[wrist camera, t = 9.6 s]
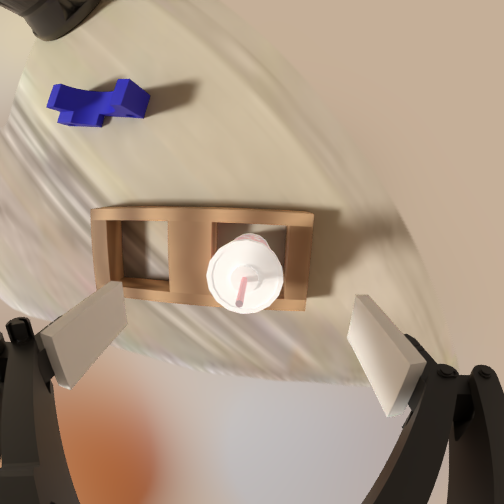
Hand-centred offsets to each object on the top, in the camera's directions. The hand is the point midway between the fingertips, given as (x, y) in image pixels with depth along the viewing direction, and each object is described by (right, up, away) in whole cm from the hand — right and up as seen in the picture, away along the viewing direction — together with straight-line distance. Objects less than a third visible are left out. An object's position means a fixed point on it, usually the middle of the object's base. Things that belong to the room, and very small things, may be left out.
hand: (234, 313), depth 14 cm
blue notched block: (-18, +21, +13) cm, 30 cm away
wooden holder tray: (-5, +3, +16) cm, 17 cm away
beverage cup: (+1, +3, +16) cm, 16 cm away
